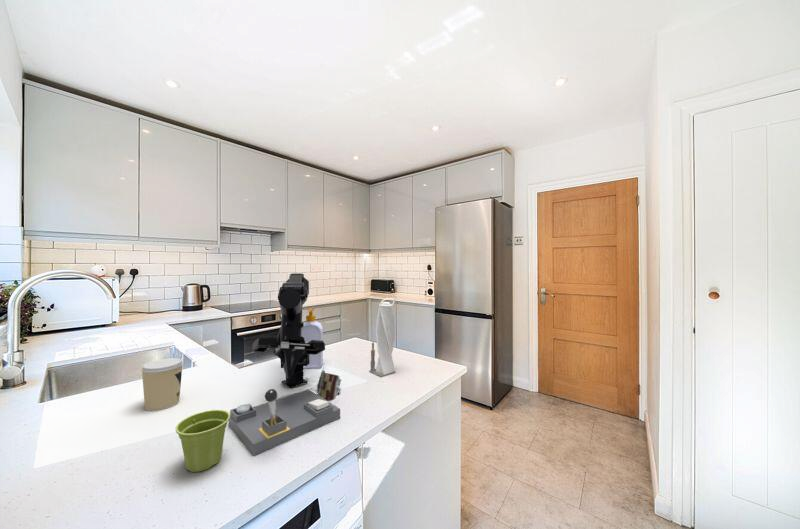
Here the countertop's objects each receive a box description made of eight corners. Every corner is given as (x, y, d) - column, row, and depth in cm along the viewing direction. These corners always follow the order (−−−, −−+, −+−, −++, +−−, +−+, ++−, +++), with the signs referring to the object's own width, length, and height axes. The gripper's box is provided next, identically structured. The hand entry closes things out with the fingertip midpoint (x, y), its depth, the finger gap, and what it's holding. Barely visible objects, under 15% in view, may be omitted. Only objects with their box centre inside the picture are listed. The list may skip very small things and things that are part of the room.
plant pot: (168, 485, 55) (168, 438, 55) (182, 454, 64) (182, 414, 64) (226, 471, 59) (226, 427, 59) (232, 444, 68) (232, 406, 68)
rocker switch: (308, 406, 79) (307, 402, 79) (318, 402, 81) (318, 398, 82) (317, 410, 76) (317, 405, 76) (328, 405, 78) (328, 401, 78)
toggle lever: (269, 420, 70) (265, 386, 66) (281, 419, 71) (278, 386, 67) (267, 430, 68) (262, 396, 64) (279, 429, 68) (275, 395, 64)
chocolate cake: (339, 404, 88) (346, 366, 97) (315, 400, 86) (325, 361, 95) (332, 415, 94) (340, 378, 103) (310, 410, 93) (319, 373, 101)
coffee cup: (186, 404, 86) (186, 362, 86) (143, 416, 79) (143, 371, 79) (178, 394, 92) (179, 355, 92) (139, 404, 86) (139, 362, 85)
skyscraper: (386, 366, 119) (387, 296, 118) (400, 372, 113) (400, 298, 112) (369, 371, 113) (370, 298, 113) (382, 378, 107) (383, 300, 107)
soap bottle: (296, 370, 114) (297, 310, 114) (299, 363, 121) (300, 307, 120) (321, 368, 115) (321, 309, 115) (322, 362, 122) (323, 307, 122)
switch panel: (228, 424, 76) (228, 407, 76) (308, 397, 91) (308, 382, 91) (253, 456, 64) (253, 435, 64) (340, 418, 79) (340, 401, 79)
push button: (234, 411, 75) (234, 407, 75) (247, 407, 77) (247, 403, 77) (238, 416, 73) (238, 411, 73) (251, 411, 75) (251, 407, 75)
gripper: (310, 333, 98) (309, 383, 90) (249, 327, 87) (242, 384, 79) (325, 322, 91) (326, 375, 83) (261, 314, 80) (255, 375, 72)
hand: (288, 377), depth 80 cm, fingers closed
